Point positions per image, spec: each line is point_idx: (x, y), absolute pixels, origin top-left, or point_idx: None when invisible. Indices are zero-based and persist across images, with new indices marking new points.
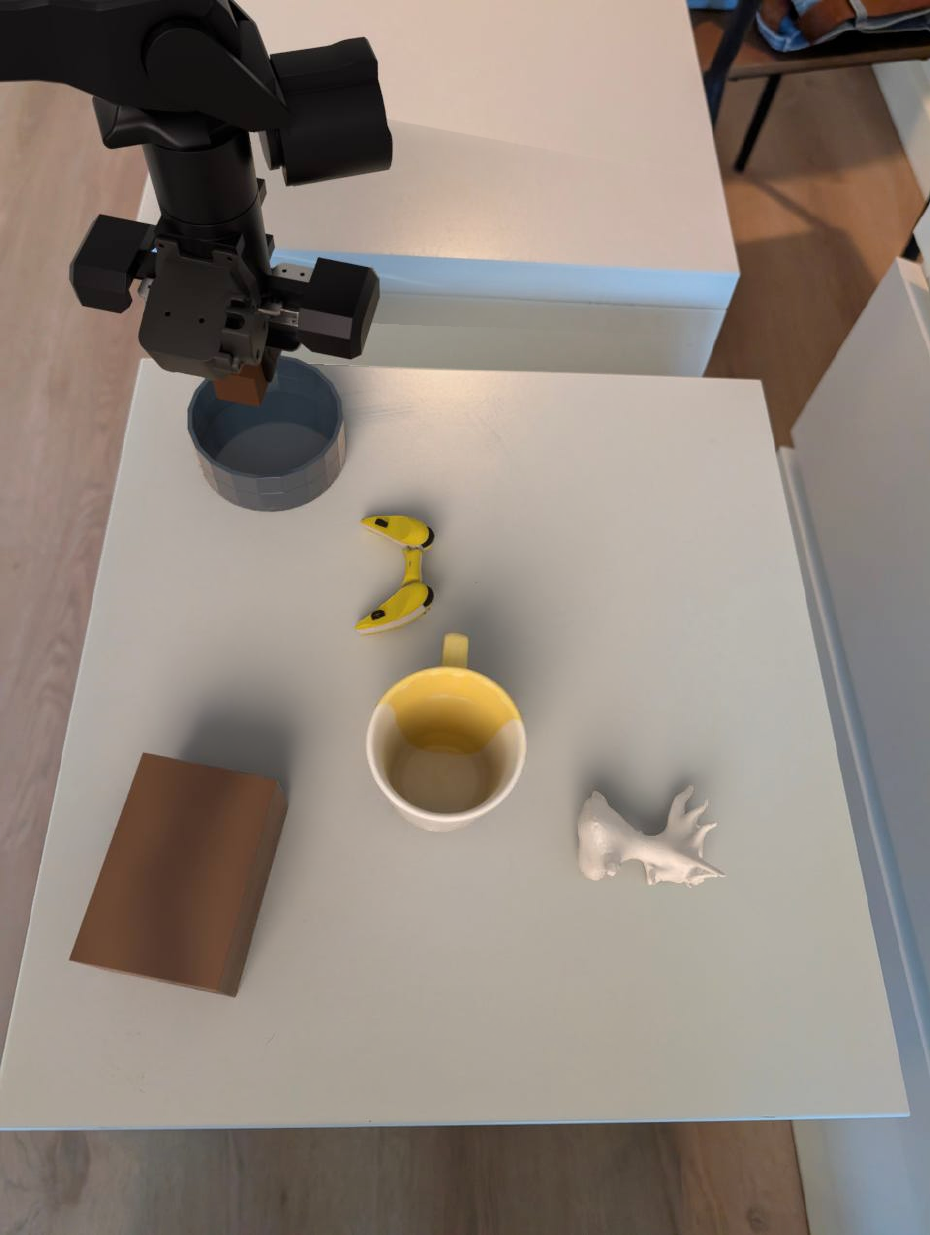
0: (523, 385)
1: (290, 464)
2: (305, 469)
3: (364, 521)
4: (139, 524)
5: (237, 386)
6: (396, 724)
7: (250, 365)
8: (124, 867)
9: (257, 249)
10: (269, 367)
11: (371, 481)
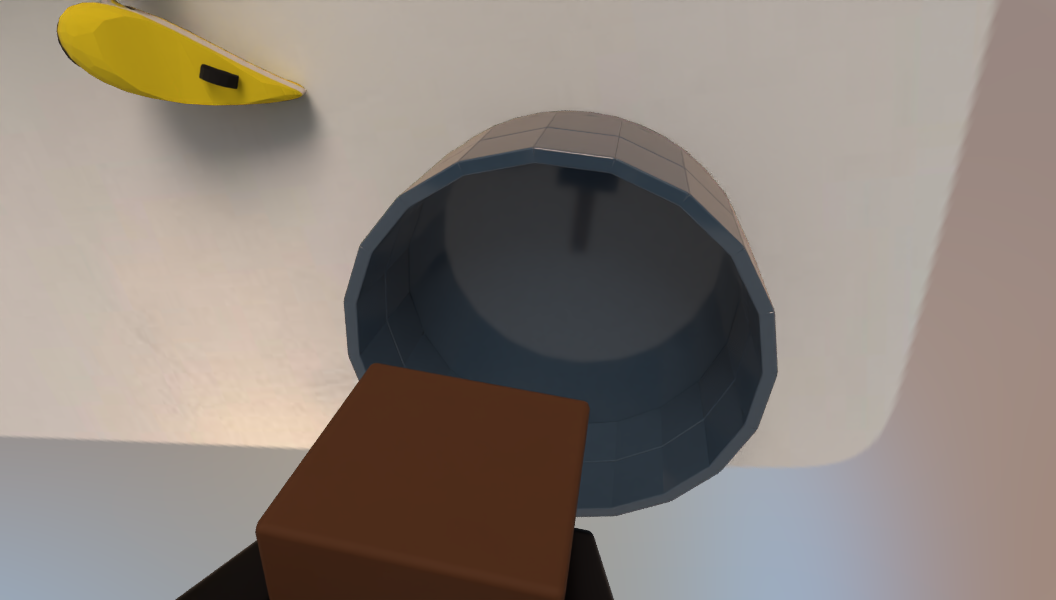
0: (149, 436)
1: (513, 248)
2: (397, 197)
3: (279, 88)
4: (924, 22)
5: (420, 474)
6: None
7: None
8: None
9: None
10: (226, 588)
11: (334, 222)
